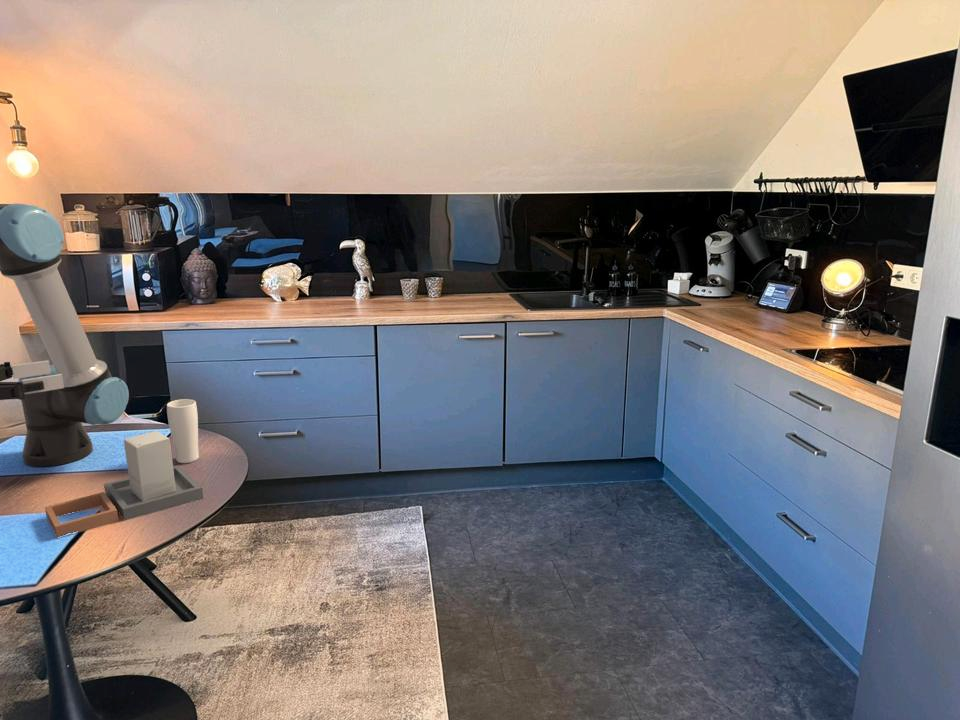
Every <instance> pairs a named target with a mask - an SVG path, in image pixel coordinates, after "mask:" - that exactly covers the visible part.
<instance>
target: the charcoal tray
mask: <svg viewBox="0 0 960 720" xmlns="http://www.w3.org/2000/svg"><path fill="white" fill-rule="evenodd" d="M173 471H174V479H175V487H176V491H175V492H173V493H170V494H166V495H163V496H160V497H157V498H153V499H150V500H146V501H142V500H141V499H139V498H138V497H137V496H136V495H134V494H133V493H132V492H131V489H130V481H129V477H126V478H122V479H117V480H113V481H110V482H106V483H103V486H104V493H105V494H106V496H107V497H108V498H109V500H110V501H111V502H112V504H113V505H114V506H115V508H116V509H117V513H118V514H119V513H120V514H119V515H120V517H122V519H123V520H124V521H127V519H128V520H131V519H135V518H139V517H141V516H146V515H148V514H153V513H156V512H159V511H162V509H163V510H166V509H169V507H170V508H173V507H176V506H180V505H183V504H188V503H190V502H194V501H198V500H200V498H201V499H204V493H203V491H204V490H203V487H202V486H201V485H200V484H199V483H197V480H196V479H194V478H193V477H192V476H191V475H190V474H189V473H188V472H187V471H185V470H184V469H183V468H182V467H181V465H179V464H178V465H173ZM197 499H198V500H197ZM193 500H194V501H193ZM165 508H166V509H165ZM158 510H159V511H158ZM155 511H156V512H155Z"/></svg>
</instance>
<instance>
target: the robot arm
mask: <svg viewBox="0 0 960 720" xmlns="http://www.w3.org/2000/svg"><path fill="white" fill-rule="evenodd" d="M64 238H65V237H64V232H63V229H62V227H61V225H60V222H58V220H57V219H56V218H55V216H54V215H53V214H52V213H50V212H48V211H47V210H46V209H43V208H42V207H39V206H36V205H31V204H30V205H29V204H25V203H0V273H1V275H2V276H3V277H5V278H8V279H10V280H12V281H13V282H14V284H15V287H16V288H17V290H18V293H19V294H20V297H21V299H22V301H23V303H24V305H25V308H26V310H27V311H28V314H29V316H30V318H31V319H32V323H33V325H34V327H35V328H36V330H37V332H38V334H39V337H40V340H41V342H42V344H43V346H44V347H45V350H46V352H47V354H48V357H49V358H50V360H51V362H52V365H50V361H49V359H48V360H42V361H41V360H39V361H35V362H26V363H19V364H13V365H11V362H10V361H4V362H3V363H1V364H0V401H8V400H19V401H21V405H22V411H23V415H24V421H25V422H24V423H25V427H26V435H25V439H24V445H23V449H22V458H23V459H22V460H23V463H24V464H25V465H27V466H30V467H39V468H41V467H55V466H60V465H61V466H62V465H65V464H69V463H73V462H76V461H79V460H81V459H83V458H86V457H87V456H89V455H91V453H92V452H93V450H94V449H93V448H94V447H93V442H92V439H91V437H90V436H89V434H88V432H87V430H86V429H85V427H84V425H83V424H88V425H92V426H96V425H98V426H99V425H103V426H105V425H110V424H112V423H114V422H115V421H117V420H118V419H120V417H121V416H122V415H123V414H124V412H125V411H126V408H127V405H128V403H129V398H130V394H129V393H130V392H129V388H128V385H127V384H126V382H125V381H124V380H122V379H121V378H119V377H117V376H115V377H114V376H112V374H111V372H110V369H109V366H108V365H107V363H106V362H105V361H104V360H102V359H101V360H100V359H97V358H96V355H95V353H94V350H93V347H92V346H91V343H90V341H89V339H88V336H87V334H86V332H85V329H84V328H83V325H82V323H81V320H80V318H79V316H78V314H77V311H76V308H75V305H74V304H73V301H72V299H71V298H70V295H69V292H68V290H67V288H66V285H65V284H64V281H63V278H62V275H60V272H59V270H58V267H59V265H60V264H61V262H62V257H61V254H60V253H61V252H62V250H63V248H64V246H63V245H62V243H64V242H65V241H64V240H65V239H64ZM12 378H13V380H17V379H18V381H5V380H9V379H12Z"/></svg>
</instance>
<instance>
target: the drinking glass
mask: <svg viewBox="0 0 960 720" xmlns="http://www.w3.org/2000/svg"><path fill="white" fill-rule="evenodd" d="M166 415H167V420H168V421H167V422H168V427H169V431H170V434H171V439H172V444H173V449H174V454H175V460H176V462H178V463H179V464H190V463H193V462H195V461H197V460H199V457H200V453H199V416H198V406H197V401H196V400H194V399H188V398H182V399H181V398H180V399H175V400H172V401H169V402H168V403H167V404H166Z"/></svg>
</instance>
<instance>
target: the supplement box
mask: <svg viewBox="0 0 960 720" xmlns="http://www.w3.org/2000/svg"><path fill="white" fill-rule="evenodd" d="M123 444H124V446H123V447H124V452H125V453H124V454H125V458H126V459H125V460H126V467H127V472H128V478H129V481H130V489H131V492H132V493H133V494H134V495H136V496H137V497H138V498H139V499H141V500H142V501H146V500H150V499H153V498H157V497H160V496H163V495H166V494H170V493H173V492H175V491H176V487H175V479H174V471H173V466H174V464H173V457H172V455H173V454H172V448H171V439H170V437H167V436H166V435H164V434H162V433H161V432H159V431H158V430H156V431H150V432H146V433H143V434H139V435H135V436H131V437H127V438H124V439H123Z"/></svg>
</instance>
